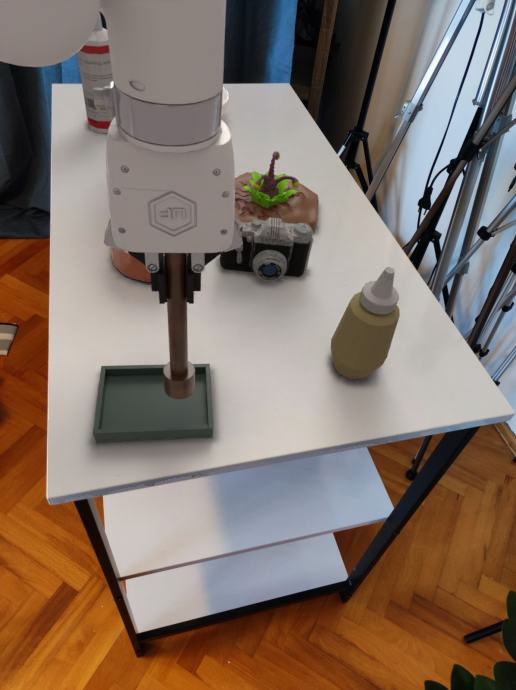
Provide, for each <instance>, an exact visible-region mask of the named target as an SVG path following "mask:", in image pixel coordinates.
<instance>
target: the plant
mask: <svg viewBox="0 0 516 690" xmlns="http://www.w3.org/2000/svg"><path fill="white" fill-rule="evenodd" d="M280 158H281V153H280V151H277V150H276V151H274V152H273V153H272V158H271V160H270V164H269V168H268V171H267V172H265V174H262V173H259V172H258V171H256V170H253V171H252V172H249V171H246V172H245V173H243V174H240V175H238V176H237V177H235V215H234V217H235V219H237V220H239V221H241V222H243V223H249V222H252V220H254V219H258V220H264V221H266V220H267V219H268V218H270V217H271V218H280V219H281V220H282V222H283V223H292V224H298V223H306V224H308V225H309V226H310V227H311V229H312V231H313V232H314V231H315V230H316V229H317V224H318V213H319V195H318V193H316V192H314V191H313V190H311V189H310V188H308V187H307V186H305V185H304V184H302V183H301V182H300V181H299V179H298V178H296V177H294V176H293V175H288V174H286V173H281V174H278V175H277V174H275V165H276V161H278V160H279V159H280Z"/></svg>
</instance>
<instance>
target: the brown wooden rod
mask: <svg viewBox="0 0 516 690" xmlns="http://www.w3.org/2000/svg"><path fill="white" fill-rule="evenodd" d="M164 254H165V269H166V289H167V303H166V312H167V313H166V314H167V331H168V333H167V334H168V348H169V349H168V353H169V354H168V355H169V362H168V363H166V364H164V365H165V367H164V369H163V376H164V390H165V393H166V394H167V395H168V396H169V397H171V398H173V399H185V398H188V397H190V396H191V395H192V394H193V393H194V391H195V367H194V366H193V364H194V363H192V362H191V361H189V344H188V343H189V341H188V340H189V339H188V302H187V296H186V253H164Z"/></svg>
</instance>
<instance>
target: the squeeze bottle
mask: <svg viewBox="0 0 516 690" xmlns="http://www.w3.org/2000/svg"><path fill="white" fill-rule="evenodd" d="M395 272H396V271H395V269H394V267H392V266H386V267H385V268H384V269H383V271H382V272H381V273H380V275H379V276H378V278H377V279H376V280H370V281H368V282H366V283H365V284H364V285H363V286H362V287H361V291H359V292H357V293H354V295H353V296H352V298H351V299H350V300H349V302H348V304H347V306H346V308H345V311H344V312H343V314H342V317H341V318H340V321H339V323H338V325H337V326H336V329H335V331H334V332H333V334H332V337H331V339H330V353H331V359H332V364H333V366H334V368H335V370H336V371H337V372H338V373H339V375H341V376H343V377H345V378H347V379H351V380H356V381H358V380H364V379H367V377H369V376H370V375H372V374H373V373H374V372H376V371H377V370H378V369H380V368H381V367H383V365H384V364H385V362H386V360H387V358H388V355H389V352H390V350H391V349H390V348H391V345H392V342H393V339H394V336H395V333H396V329H397V326H398V323H399V320H400V315H401V313H400V312H401V311H400V307H399V306H398V302H399V300H400V294H399V292H398V290H397V289H396V288H395V287H394V280H395V279H394V278H395V274H396V273H395Z"/></svg>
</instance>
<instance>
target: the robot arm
mask: <svg viewBox="0 0 516 690" xmlns="http://www.w3.org/2000/svg"><path fill="white" fill-rule="evenodd" d="M99 13H100V14H102V16H103V17H104V21H105V24H106V30H107V34H108V42H109V51H110V59H111V68H112V76H113V81H110V86H104V88H97V87H94V88H93V100H94V106H95V108H101V109H106V111H112V115H113V116H116V117H115V118H114V119H113V120H112V121H111V124H110V126H109V128H108V133H106V134H107V135H106V152H105V153H106V154H105V157H106V158H105V159H106V161H105V163H106V165H105V167H106V183H107V185H106V186H107V197H108V198H107V199H108V208H109V219H108V223H107V226H106V228H105V231H104V237H103V244H104V245H105V246H107V247H109V248H110V247H112V248H115V249H118V250H121V251H128V253H129V254H130V255H131V256H133V257H134V258H136V259H137V260H139V261H140V262H141V263H143V264H144V265H146V270H147V271H148V272H150V277H151V282H150V287H151V292H158V302H159V305H165V304H167V289H166V269H165V256H164V254H163V253H188V256H186V296H187V303H188V304H189V305H194V304H195V292H201V291H202V273H203V272H204V271H205V267H206V266H207V265H208V264H209V263H211V262H212V261H213V260H214V259H216V258H217V257H218V256H219V257H220V253H221V252H227V251H230V250H233V249H236V248H239V247H241V246H242V245H243V241H242V234H241V231H240V229H239V227H238V224H237V222H236V220H235V217H234V215H235V178H236V170H235V169H236V167H235V157H234V155H235V154H234V147H233V140H232V134H231V131H230V129H229V126H228V124H227V123H226V122H225V121H224V120H222V118H223V116H222V96H223V87H224V72H225V71H224V68H225V41H226V40H225V39H226V38H225V37H226V36H225V34H226V16H227V15H226V13H227V0H0V62H1V63H4V64H11V65H14V66H18V67H28V68H43V67H50V66H56V65H57V64H61V63H62V62H65V61H67V60H69V59H70V58H72V57H73V56H74V55H77V52H79V51H80V49H81V48H82V47H83V46H84V45H85V44H86V42H87V41H88V40H89V38H90V36H91V34H92V32H93V30H94V28H95V26H96V23H97V19H98V15H99Z"/></svg>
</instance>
